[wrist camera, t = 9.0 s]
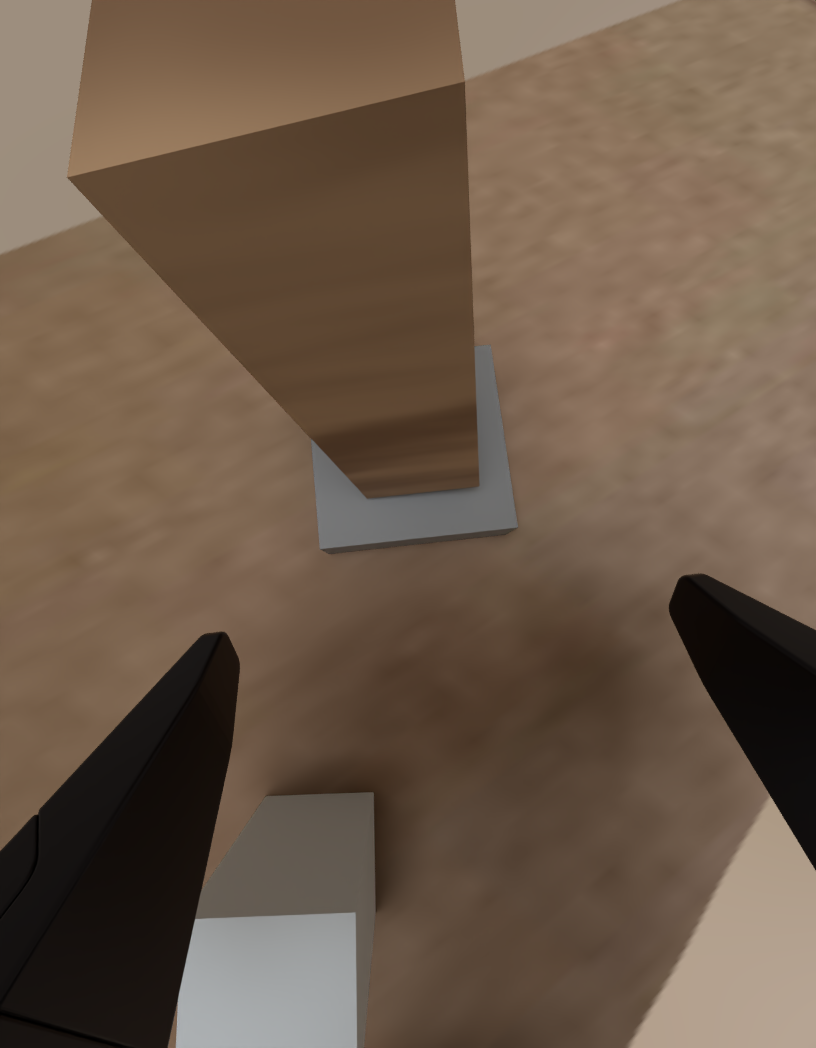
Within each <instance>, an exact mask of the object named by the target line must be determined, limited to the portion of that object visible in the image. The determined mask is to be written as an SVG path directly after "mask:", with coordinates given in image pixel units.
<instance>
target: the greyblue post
mask: <svg viewBox="0 0 816 1048" xmlns="http://www.w3.org/2000/svg"><path fill="white" fill-rule="evenodd" d="M375 914H376V903H375V840H374V792H364V793H336V794H308V795H280V796H266V797H265V798H264V799H263V801H262V802H261V804H260V805H259V807H258V808H257V810H256V811H255V813H254V814H253V816H252V817H251V819H250V820H249V821H248V823H247V824H246V826H245V827H244V829H243V830H242V832H241V833H240V835H239V836H238V838H237V839H236V841H235V842H234V843H233V845H232V846H231V848H230V849H229V851H228V852H227V854H226V855H225V857H224V858H223V860H222V861H221V863H220V864H219V865H218V867H217V868H216V870H215V871H214V873H213V874H212V876H211V877H210V879H209V880H208V882H207V883H206V885H205V886H204V887H203V889H202V890H201V894H200V899H199V903H198V908H197V913H196V917H195V922H194V927H193V931H192V936H191V941H190V945H189V950H188V955H187V959H186V964H185V969H184V974H183V978H182V983H181V988H180V992H179V997H178V1014H177V1037H176V1048H364V1041H365V1030H366V1018H367V1007H368V995H369V984H370V972H371V960H372V949H373V937H374V926H375Z"/></svg>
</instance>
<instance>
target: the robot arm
mask: <svg viewBox="0 0 816 1048" xmlns="http://www.w3.org/2000/svg"><path fill="white" fill-rule="evenodd" d="M669 612H670V616H671V618H672V620H673V622H674V624H675V627H676V629H677V631H678V633H679V635H680V637H681V639H682V641H683V643H684V646H685V648H686V650H687V652H688V654H689V656H690V658H691V660H692V662H693V665H694V667H695V669H696V671H697V673H698V675H699V677H700V679H701V681H702V683H703V685H704V686H705V688H706V690H707V692H708V693H709V695H710V697H711V699H712V700H713V702H714V703H715V705H716V707H717V708H718V710H719V712H720V713H721V715H722V717H723V718H724V720H725V722H726V723H727V725H728V727H729V728H730V730H731V732H732V733H733V735H734V736H735V738H736V740H737V741H738V743H739V745H740V746H741V748H742V750H743V751H744V753H745V755H746V756H747V758H748V760H749V761H750V763H751V765H752V766H753V768H754V769H755V771H756V773H757V774H758V776H759V778H760V779H761V781H762V783H763V784H764V786H765V788H766V789H767V791H768V793H769V794H770V796H771V798H772V799H773V801H774V802H775V804H776V806H777V807H778V809H779V810H780V812H781V814H782V816H783V817H784V819H785V820H786V822H787V824H788V825H789V827H790V829H791V830H792V832H793V834H794V835H795V837H796V839H797V840H798V842H799V844H800V845H801V847H802V849H803V850H804V852H805V854H806V855H807V857H808V859H809V860H810V862H811V864H812V865H813V867H814V868H815V870H816V630H814V629H812V628H810V627H808V626H806V625H804V624H802V623H801V622H799V621H797V620H795V619H793V618H791V617H789V616H787V615H785V614H783V613H781V612H779V611H777V610H775V609H773V608H771V607H769V606H767V605H765V604H763V603H761V602H759V601H757V600H755V599H753V598H751V597H749V596H747V595H745V594H743V593H741V592H739V591H737V590H735V589H733V588H731V587H729V586H728V585H726V584H724V583H722V582H720V581H718V580H716V579H714V578H712V577H710V576H708V575H705V574H692V575H684V576H682V577H681V578H679V580H678V582H677V584H676V587H675V590H674V592H673V595H672V598H671V600H670V603H669ZM239 673H240V663H239V658H238V656H237V654H236V651H235V649H234V647H233V645H232V643H231V641H230V639H229V636H228V635H227V634H226V633H225V632H215V633H207V634H204V635H202V636H201V637H200V638H199V639H198V640H197V641H196V642H195V643H194V644H193V645H192V646H191V647H190V648H189V649H188V650H187V651H186V653H185V654H184V655H183V656H182V657H181V658H180V659H179V660H178V661H177V662H176V663H175V664H174V665H173V666H172V668H171V669H170V670H169V671H168V672H167V673H166V674H165V675H164V676H163V677H162V678H161V679H160V680H159V682H158V683H157V684H156V685H155V686H154V687H153V688H152V689H151V690H150V691H149V692H148V693H147V694H146V695H145V697H144V698H143V699H142V700H141V701H140V702H139V703H138V704H137V705H136V706H135V707H134V708H133V709H132V711H131V712H130V713H129V714H128V715H127V716H126V717H125V718H124V719H123V720H122V721H121V722H120V723H119V725H118V726H117V727H116V728H115V729H114V730H113V731H112V732H111V733H110V734H109V735H108V736H107V737H106V738H105V740H104V741H103V742H102V743H101V744H100V745H99V746H98V747H97V748H96V749H95V750H94V751H93V752H92V754H91V755H90V756H89V757H88V758H87V759H86V760H85V761H84V762H83V763H82V764H81V765H80V766H79V767H78V769H77V770H76V771H75V772H74V773H73V774H72V775H71V776H70V777H69V778H68V779H67V780H66V781H65V783H64V784H63V785H62V786H61V787H60V788H59V789H58V790H57V791H56V792H55V793H54V794H53V795H52V797H51V798H50V799H49V800H48V801H47V802H46V803H45V804H44V805H43V806H42V807H41V808H40V810H39V813H38V814H37V815H34V816H33V817H32V818H31V819H30V820H29V821H28V822H27V823H26V824H25V825H24V826H23V827H22V829H21V830H20V831H19V832H18V833H17V834H16V835H15V836H14V837H13V838H12V839H11V840H10V841H9V842H8V843H7V844H6V846H5V847H4V848H3V849H2V850H1V851H0V1048H168V1044H169V1039H170V1034H171V1030H172V1025H173V1020H174V1016H175V1011H176V1006H177V1002H178V997H179V992H180V988H181V983H182V978H183V974H184V969H185V964H186V959H187V955H188V950H189V945H190V941H191V936H192V931H193V927H194V922H195V917H196V913H197V908H198V903H199V899H200V894H201V889H202V885H203V880H204V875H205V871H206V866H207V861H208V857H209V852H210V847H211V843H212V838H213V833H214V829H215V824H216V819H217V815H218V810H219V805H220V801H221V796H222V791H223V787H224V782H225V777H226V773H227V768H228V763H229V758H230V753H231V748H232V741H233V732H234V722H235V712H236V702H237V692H238V683H239Z"/></svg>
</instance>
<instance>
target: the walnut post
mask: <svg viewBox="0 0 816 1048" xmlns="http://www.w3.org/2000/svg"><path fill="white" fill-rule="evenodd" d="M67 178H68V179H69V180H70V181H71V182H72V183H73V184H74V185H75V186H76V187H77V189H78V190H79V191H80V192H81V193H82V194H83V195H84V196H85V197H86V198H87V199H88V200H89V201H90V202H91V204H92V205H93V206H94V207H95V208H96V209H97V210H98V211H99V212H100V213H101V214H102V215H103V216H104V217H105V219H106V220H107V221H108V222H109V223H110V224H111V225H112V226H113V227H114V228H115V229H116V230H117V231H118V232H119V234H120V235H121V236H122V237H123V238H124V239H125V240H126V241H127V242H128V243H129V244H130V245H131V246H132V247H133V249H134V250H135V251H136V252H137V253H138V254H139V255H140V256H141V257H142V258H143V259H144V260H145V261H146V262H147V263H148V265H149V266H150V267H151V268H152V269H153V270H154V271H155V272H156V273H157V274H158V275H159V276H160V277H161V278H162V280H163V281H164V282H165V283H166V284H167V285H168V286H169V287H170V288H171V289H172V290H173V291H174V292H175V293H176V295H177V296H178V297H179V298H180V299H181V300H182V301H183V302H184V303H185V304H186V305H187V306H188V307H189V308H190V310H191V311H192V312H193V313H194V314H195V315H196V316H197V317H198V318H199V319H200V320H201V321H202V322H203V323H204V325H205V326H206V327H207V328H208V329H209V330H210V331H211V332H212V333H213V334H214V335H215V336H216V337H217V338H218V339H219V341H220V342H221V343H222V344H223V345H224V346H225V347H226V348H227V349H228V350H229V351H230V352H231V353H232V354H233V356H234V357H235V358H236V359H237V360H238V361H239V362H240V363H241V364H242V365H243V366H244V367H245V368H246V369H247V371H248V372H249V373H250V374H251V375H252V376H253V377H254V378H255V379H256V380H257V381H258V382H259V383H260V384H261V386H262V387H263V388H264V389H265V390H266V391H267V392H268V393H269V394H270V395H271V396H272V397H273V398H274V399H275V400H276V402H277V403H278V404H279V405H280V406H281V407H282V408H283V409H284V410H285V411H286V412H287V413H288V414H289V415H290V417H291V418H292V419H293V420H294V421H295V422H296V423H297V424H298V425H299V426H300V427H301V428H302V429H303V430H304V432H305V433H306V434H307V435H308V436H309V437H310V438H311V439H312V440H313V441H314V442H315V443H316V444H317V445H318V447H319V448H320V449H321V450H322V451H323V452H324V453H325V454H326V455H327V456H328V457H329V458H330V459H331V460H332V462H333V463H334V464H335V465H336V466H337V467H338V468H339V469H340V470H341V471H342V472H343V473H344V474H345V475H346V476H347V478H348V479H349V480H350V481H351V482H352V483H353V484H354V485H355V486H356V487H357V488H358V489H359V490H360V491H361V493H362V494H363V495H364V496H365V497H366V498H367V499H368V498H377V497H387V496H396V495H405V494H414V493H424V492H433V491H442V490H451V489H460V488H470V487H479V459H478V432H477V404H476V377H475V349H474V322H473V294H472V267H471V240H470V212H469V185H468V157H467V130H466V103H465V80H464V72H463V64H462V55H461V47H460V39H459V30H458V22H457V14H456V5H455V0H92V4H91V11H90V18H89V25H88V33H87V39H86V46H85V53H84V60H83V68H82V75H81V82H80V89H79V96H78V103H77V111H76V118H75V125H74V132H73V139H72V147H71V153H70V160H69V167H68V175H67Z"/></svg>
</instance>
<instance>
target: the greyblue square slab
mask: <svg viewBox="0 0 816 1048" xmlns="http://www.w3.org/2000/svg"><path fill="white" fill-rule="evenodd" d="M474 349H475V377H476V404H477V432H478V459H479V487H470V488H460V489H451V490H442V491H433V492H424V493H414V494H405V495H396V496H387V497H377V498H368V499H367V498H366V497H365V496H364V495H363V494H362V493H361V491H360V490H359V489H358V488H357V487H356V486H355V485H354V484H353V483H352V482H351V481H350V480H349V479H348V478H347V476H346V475H345V474H344V473H343V472H342V471H341V470H340V469H339V468H338V467H337V466H336V465H335V464H334V463H333V462H332V460H331V459H330V458H329V457H328V456H327V455H326V454H325V453H324V452H323V451H322V450H321V449H320V448H319V447H318V445H317V444H316V443H315V442H314V441H313V440H312V439H311V445H312V458H313V470H314V482H315V495H316V507H317V519H318V532H319V544H320V549H321V550H323V551H324V552H326V553H328V554H333V553H342V552H351V551H360V550H369V549H379V548H388V547H397V546H406V545H415V544H424V543H433V542H443V541H452V540H461V539H470V538H479V537H488V536H498V535H506V534H508V533H509V532H511V531H513V530H514V529H516V528H518V525H517V518H516V511H515V505H514V498H513V491H512V485H511V478H510V471H509V465H508V458H507V451H506V445H505V438H504V431H503V425H502V418H501V411H500V405H499V398H498V391H497V385H496V378H495V371H494V364H493V358H492V351H491V345H483V346H474Z"/></svg>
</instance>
